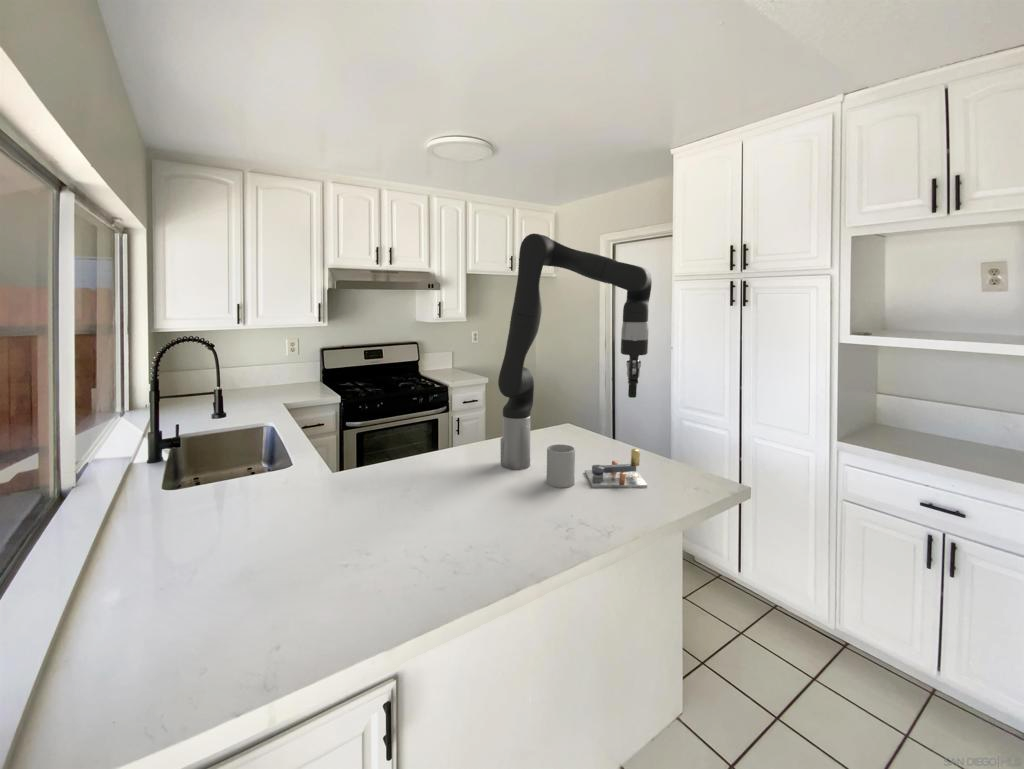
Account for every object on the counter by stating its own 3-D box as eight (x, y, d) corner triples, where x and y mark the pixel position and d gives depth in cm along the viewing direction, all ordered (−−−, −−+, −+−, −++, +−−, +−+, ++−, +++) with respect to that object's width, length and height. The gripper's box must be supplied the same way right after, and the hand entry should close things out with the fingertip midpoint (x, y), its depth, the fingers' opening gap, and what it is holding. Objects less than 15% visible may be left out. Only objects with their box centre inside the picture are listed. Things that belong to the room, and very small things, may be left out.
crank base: (591, 487, 144) (592, 474, 144) (584, 472, 157) (585, 460, 157) (647, 487, 145) (647, 474, 144) (635, 472, 158) (636, 460, 157)
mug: (576, 488, 144) (577, 452, 142) (547, 488, 144) (548, 452, 142) (570, 473, 156) (571, 440, 154) (544, 474, 156) (544, 441, 154)
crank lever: (594, 474, 148) (594, 454, 147) (590, 470, 152) (590, 450, 151) (641, 472, 151) (642, 451, 150) (636, 467, 154) (637, 447, 153)
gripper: (620, 336, 147) (618, 392, 149) (621, 339, 134) (619, 401, 137) (646, 336, 145) (644, 393, 148) (649, 339, 132) (646, 402, 135)
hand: (632, 397), depth 142 cm, fingers closed
